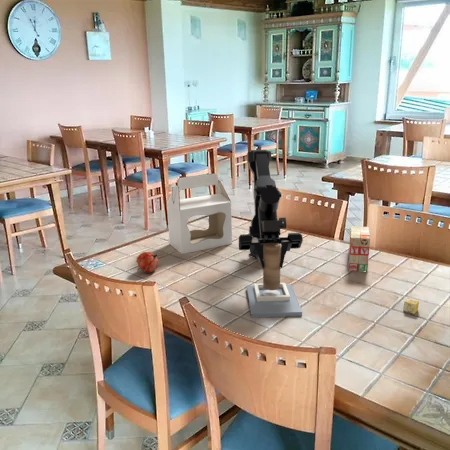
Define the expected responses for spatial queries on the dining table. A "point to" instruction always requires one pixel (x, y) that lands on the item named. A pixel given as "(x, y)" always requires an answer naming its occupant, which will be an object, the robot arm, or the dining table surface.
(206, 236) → the gable box
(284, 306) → the baseplate
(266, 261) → the walnut column
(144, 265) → the pomegranate
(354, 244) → the stack of blocks
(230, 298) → the dining table surface
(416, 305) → the alphabet block
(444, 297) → the dining table surface
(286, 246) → the robot arm
